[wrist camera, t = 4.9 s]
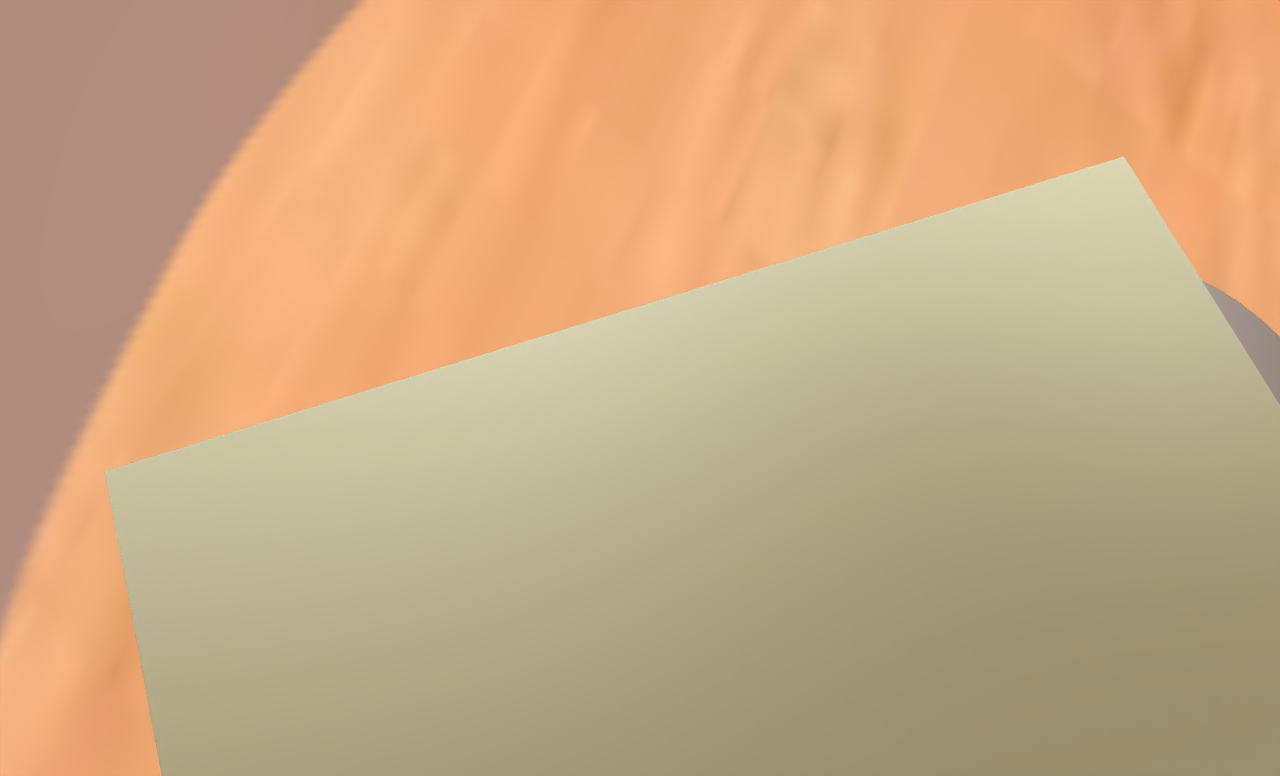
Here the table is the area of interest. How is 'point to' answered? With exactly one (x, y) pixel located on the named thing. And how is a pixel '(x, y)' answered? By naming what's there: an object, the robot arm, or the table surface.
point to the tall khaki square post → (755, 531)
